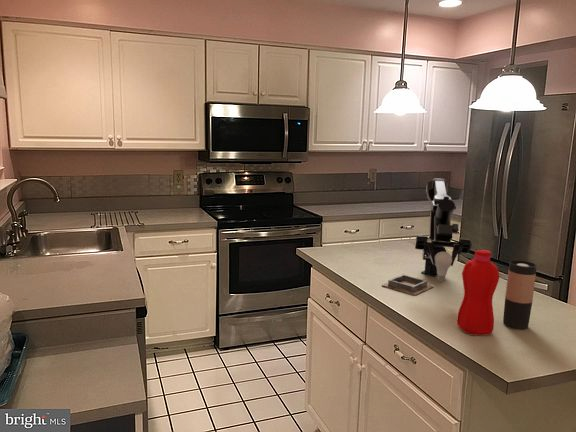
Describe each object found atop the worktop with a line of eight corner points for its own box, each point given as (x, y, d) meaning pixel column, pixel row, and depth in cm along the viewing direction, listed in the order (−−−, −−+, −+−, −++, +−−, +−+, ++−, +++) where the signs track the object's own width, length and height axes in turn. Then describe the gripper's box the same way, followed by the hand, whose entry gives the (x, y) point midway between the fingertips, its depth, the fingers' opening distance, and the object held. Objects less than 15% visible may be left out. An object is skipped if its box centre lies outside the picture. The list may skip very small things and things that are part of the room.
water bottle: (477, 321, 152) (486, 244, 148) (497, 336, 142) (506, 254, 137) (450, 322, 151) (457, 245, 146) (467, 337, 140) (476, 254, 136)
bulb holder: (400, 278, 193) (401, 272, 193) (433, 287, 184) (433, 281, 183) (381, 286, 183) (382, 279, 183) (414, 295, 174) (415, 289, 173)
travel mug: (497, 320, 153) (504, 260, 150) (520, 320, 154) (527, 260, 150) (510, 330, 146) (518, 267, 142) (534, 330, 147) (542, 267, 143)
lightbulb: (450, 285, 166) (454, 254, 164) (432, 283, 167) (435, 253, 165) (448, 280, 172) (452, 250, 170) (431, 278, 173) (434, 248, 171)
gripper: (418, 213, 170) (417, 251, 162) (473, 216, 167) (475, 255, 158) (415, 230, 180) (414, 266, 171) (467, 233, 176) (469, 271, 167)
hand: (442, 264), depth 167 cm, fingers closed on lightbulb, 6 cm apart
